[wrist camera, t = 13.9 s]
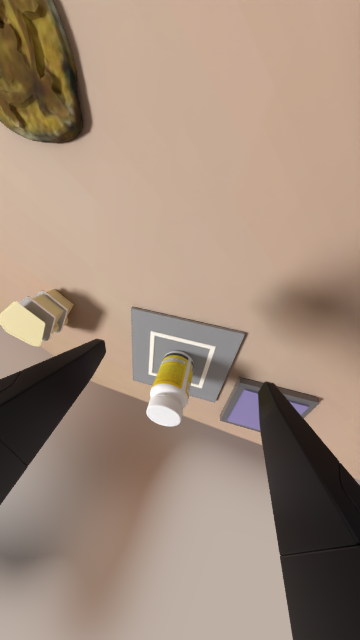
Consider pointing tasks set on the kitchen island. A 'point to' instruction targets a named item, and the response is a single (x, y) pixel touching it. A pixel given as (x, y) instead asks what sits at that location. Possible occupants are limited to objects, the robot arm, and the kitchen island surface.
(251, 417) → the pad
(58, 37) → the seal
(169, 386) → the supplement bottle
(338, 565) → the robot arm
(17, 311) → the cream tiered block
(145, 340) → the board
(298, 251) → the kitchen island surface
